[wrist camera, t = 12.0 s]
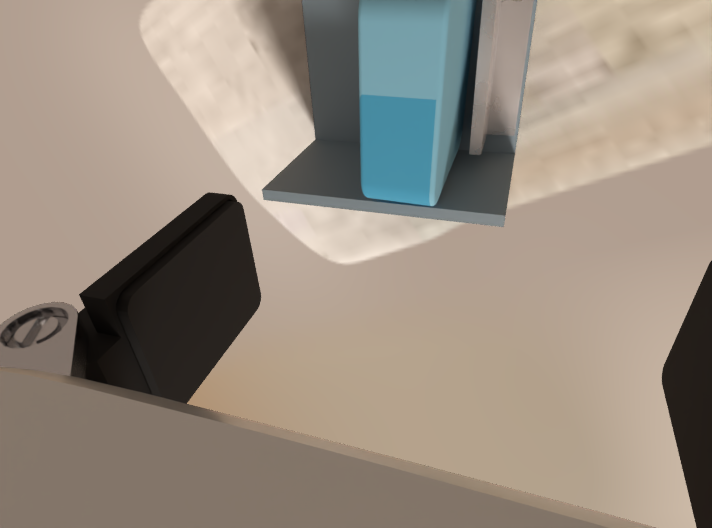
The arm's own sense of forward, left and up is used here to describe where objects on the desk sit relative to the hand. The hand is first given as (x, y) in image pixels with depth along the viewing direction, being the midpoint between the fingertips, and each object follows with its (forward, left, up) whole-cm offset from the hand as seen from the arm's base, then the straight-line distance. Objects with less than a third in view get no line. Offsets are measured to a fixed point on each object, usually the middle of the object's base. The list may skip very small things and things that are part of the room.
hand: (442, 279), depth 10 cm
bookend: (+1, +2, -29) cm, 29 cm away
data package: (+5, +2, -29) cm, 30 cm away
